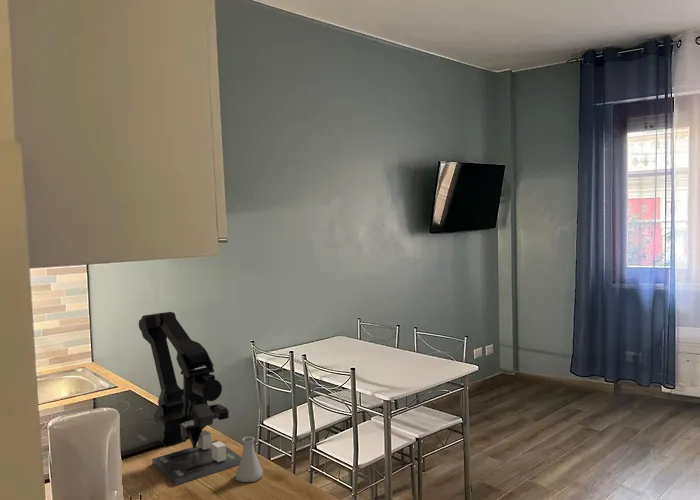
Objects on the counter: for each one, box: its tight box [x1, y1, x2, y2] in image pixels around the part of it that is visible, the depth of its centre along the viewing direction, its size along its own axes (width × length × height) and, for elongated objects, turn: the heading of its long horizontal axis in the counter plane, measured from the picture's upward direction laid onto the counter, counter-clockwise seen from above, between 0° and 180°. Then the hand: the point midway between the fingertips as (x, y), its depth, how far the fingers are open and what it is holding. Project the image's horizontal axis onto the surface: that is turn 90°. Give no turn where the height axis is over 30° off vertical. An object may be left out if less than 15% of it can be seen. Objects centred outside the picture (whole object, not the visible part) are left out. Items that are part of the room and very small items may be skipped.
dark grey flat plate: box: [151, 439, 242, 486], centre depth 156 cm, size 16×19×2 cm
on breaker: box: [212, 440, 227, 462], centre depth 154 cm, size 4×2×4 cm, turn 39°
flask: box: [235, 436, 264, 483], centre depth 147 cm, size 7×7×10 cm
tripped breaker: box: [197, 429, 212, 450], centre depth 162 cm, size 4×2×4 cm, turn 39°
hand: (194, 447), depth 160 cm, fingers closed
